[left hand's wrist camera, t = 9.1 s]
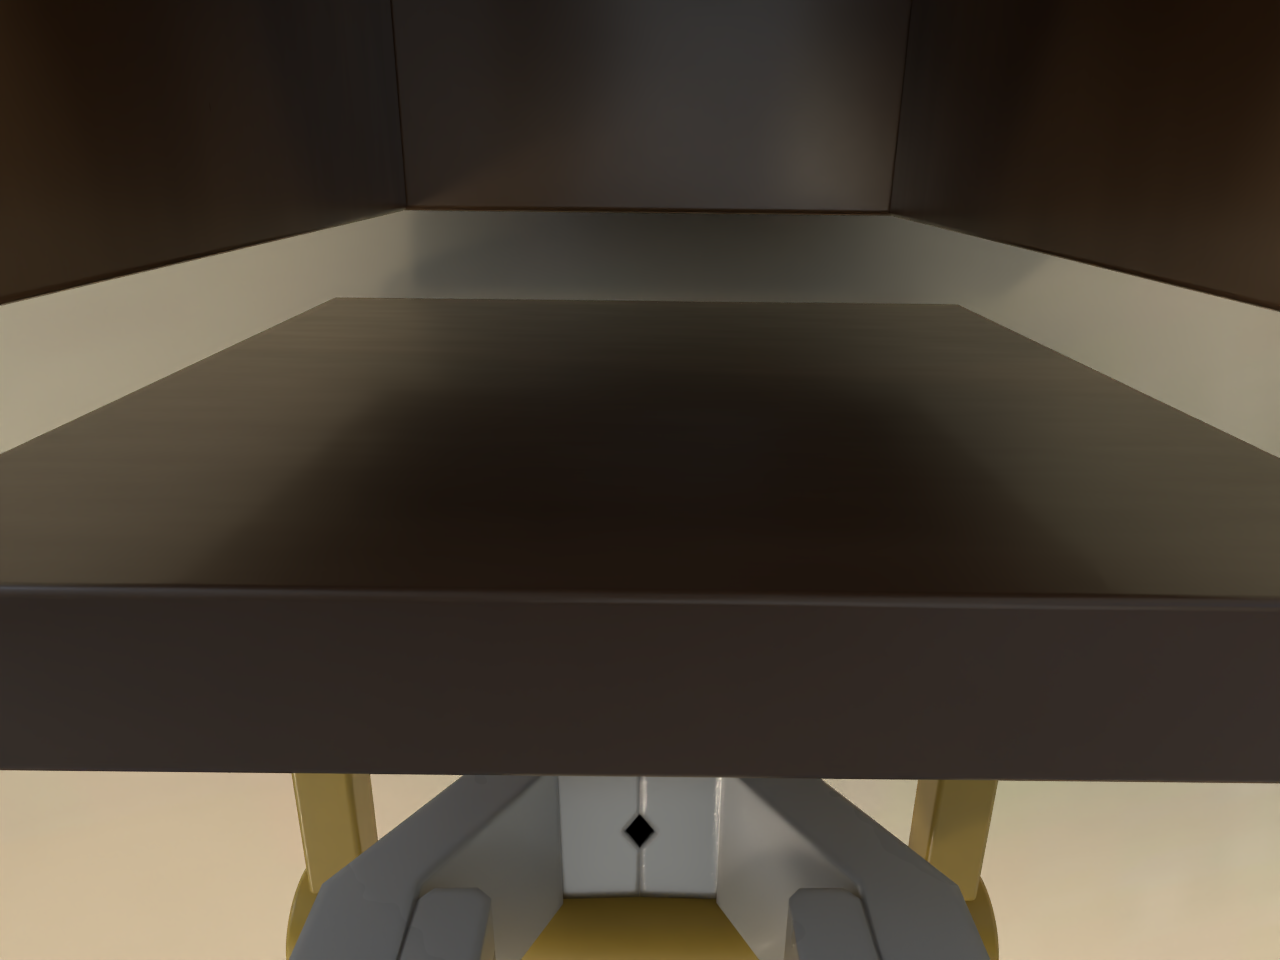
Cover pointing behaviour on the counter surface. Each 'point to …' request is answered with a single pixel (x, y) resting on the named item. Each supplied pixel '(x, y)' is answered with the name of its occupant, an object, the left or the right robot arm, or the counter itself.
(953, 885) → the left robot arm
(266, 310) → the counter surface
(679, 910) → the drawer
